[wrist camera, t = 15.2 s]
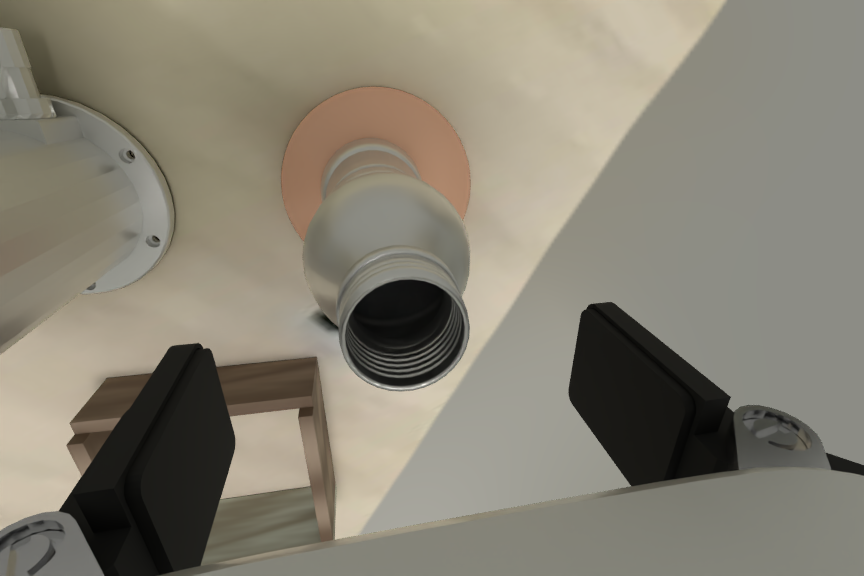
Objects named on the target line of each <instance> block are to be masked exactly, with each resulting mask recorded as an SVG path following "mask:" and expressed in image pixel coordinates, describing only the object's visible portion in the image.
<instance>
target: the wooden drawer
mask: <svg viewBox="0 0 864 576" xmlns="http://www.w3.org/2000/svg"><path fill="white" fill-rule="evenodd" d="M216 369H217V372H218V376H219V380H220V383H221V387H222V391H223V394H224V398H225V402H226V405H227V409H228V413H229V416H237V415H245V414H254V413H262V412H271V411H280V410H288V409H297V408H300V410H299V416H298V419H299V424H300V430H301V435H302V441H303V446H304V452H305V457H306V463H307V468H308V473H309V479H310V484H311V487H305V488H298V489H291V490H284V491H277V492H271V493H264V494H257V495H250V496H243V497H236V498H229V499H222V500H220V501H219V505H218V508H217V512H216V515H215V518H214V522H213V525H212V528H211V532H210V535H209V539H208V542H207V545H206V549H205V552H204V556H203V559H202V562H201V566H203V565H208V564H213V563H218V562H223V561H228V560H233V559H238V558H243V557H248V556H253V555H257V554H262V553H267V552H272V551H277V550H283V549H288V548H293V547H299V546H304V545H309V544H315V543H320V542H326V541H331V540H335V514H336V484H335V478H334V471H333V464H332V457H331V450H330V444H329V437H328V430H327V423H326V417H325V410H324V403H323V396H322V389H321V383H320V376H319V369H318V362H317V357H314V358H304V359H294V360H284V361H274V362H264V363H254V364H244V365H234V366H224V367H216ZM151 375H152V374H144V375H134V376H124V377H114V378H107V379H106V380H105V381H104V383H103V384H102V385H101V386H100V387H99V389H98V390H97V391H96V392H95V393H94V395H93V396H92V397H91V398H90V399H89V401H88V402H87V403H86V404H85V405H84V407H83V408H82V409H81V410H80V411H79V413H78V414H77V415H76V416H75V417H74V419H73V420H72V421H71V422H70V425H71V427H72V429H73V431H74V434H75V435H74V436H73V438H72V439H71V440H70V441H69V443H68V444H67V445H66V446H67V448H68V450H69V452H70V454H71V456H72V458H73V460H74V462H75V464H76V466H77V468H78V469H79V471H80V473H81V475H83V474H84V472H85V471H86V469H87V468H88V466H89V465H90V463H91V462H92V460H93V459H94V457H95V456H96V454H97V453H98V451H99V450H100V448H101V447H102V445H103V444H104V442H105V441H106V439H107V438H108V436H109V435H110V433H111V432H112V430H113V429H114V427H115V426H116V424H117V423H118V421H119V420H120V418H121V417H122V415H123V414H124V413H125V412H126V411H127V410H128V409H130V407H131V406H132V404H133V402H134V401H135V399H136V398H137V396H138V395H139V393H140V392H141V390H142V389H143V387H144V386H145V384H146V383H147V381H148V380H149V378H150V377H151Z"/></svg>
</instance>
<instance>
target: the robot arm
mask: <svg viewBox="0 0 864 576" xmlns="http://www.w3.org/2000/svg"><path fill="white" fill-rule="evenodd" d="M30 68H32V67H31V64H30V62H29V59H28V56H27V53H26V51H25V48H24V45H23V43H22V40H21V37H20V34H19V32H18V30H16V29H10V28H0V355H1V354H2V353H3V352H5V351H6V350H7V349H8V348H10V347H11V346H12V345H14V344H15V343H16V342H18V341H19V340H20V339H22V338H23V337H24V336H25V335H27V334H28V333H29V332H31V331H32V330H33V329H35V328H36V327H37V326H38V325H40V324H41V323H42V322H44V321H45V320H46V319H48V318H49V317H50V316H51V315H53V314H54V313H55V312H57V311H58V310H59V309H61V308H62V307H63V306H64V305H66V304H67V303H68V302H70V301H71V300H72V299H74V298H75V297H76V296H77V295H79V294H97V293H106V292H110V291H114V290H117V289H120V288H124V287H126V286H128V285H130V284H132V283H134V282H136V281H138V280H140V279H141V278H142V277H143V276H144V275H146V274H147V273H148V272H149V271H151V270H152V269H153V268H154V267H155V266H156V264H157V263H158V262H159V261H160V260H161V259H162V258H163V256H164V254H165V252H166V251H167V249H168V247H169V245H170V242H171V238H172V235H173V231H174V215H175V213H174V207H173V202H172V196H171V193H170V191H169V188H168V185H167V183H166V180H165V178H164V176H163V174H162V173H161V171H160V169H159V168H158V166H157V164H156V162H155V161H154V159H153V158H152V157H151V156H150V155H149V153H148V152H147V151H146V150H145V149H144V147H143V146H142V145H141V144H140V143H139V142H138V141H137V140H136V139H135V138H134V137H133V136H131V135H130V134H129V133H128V132H127V131H126V130H125V129H124V128H122V127H121V126H119V125H118V124H116V123H115V122H113V121H112V120H110V119H109V118H107V117H106V116H104V115H103V114H101V113H99V112H97V111H95V110H93V109H90V108H88V107H86V106H84V105H82V104H80V103H77V102H73V101H70V100H67V99H63V98H60V97H56V96H51V95H43V94H39V91H38V88H37V86H36V83H35V80H34V77H33V75H32V72H31V69H30ZM130 151H132V152H133V153H134V155H135V158H133V157H131V155H130ZM155 236H156V237H158V238H159V240H157V239H156V238H155ZM569 397H570V401H571V403H572V404H573V406H574V407H575V409H576V410H577V411H578V413H579V414H580V416H581V417H582V418H583V420H584V421H585V423H586V424H587V425H588V427H589V428H590V429H591V431H592V432H593V434H594V435H595V436H596V438H597V439H598V441H599V442H600V443H601V445H602V446H603V448H604V449H605V450H606V451H607V453H608V454H609V456H610V457H611V459H612V460H613V461H614V463H615V464H616V466H617V467H618V468H619V470H620V471H621V473H622V474H623V475H624V477H625V478H626V479H627V481H628V482H629V484H630V485H631V487H626V488H620V489H614V490H608V491H603V492H597V493H592V494H586V495H580V496H574V497H569V498H562V499H556V500H551V501H545V502H540V503H534V504H528V505H524V506H517V507H512V508H506V509H500V510H495V511H489V512H484V513H478V514H473V515H467V516H462V517H456V518H450V519H445V520H440V521H434V522H428V523H423V524H417V525H413V526H406V527H402V528H396V529H391V530H385V531H380V532H374V533H369V534H363V535H358V536H353V537H347V538H342V539H336V540H331V541H326V542H320V543H315V544H309V545H304V546H299V547H293V548H288V549H283V550H277V551H272V552H267V553H262V554H257V555H253V556H248V557H243V558H238V559H233V560H228V561H223V562H218V563H213V564H208V565H203V566H201V562H202V559H203V556H204V552H205V549H206V545H207V542H208V539H209V535H210V532H211V528H212V525H213V522H214V518H215V515H216V512H217V508H218V505H219V501H220V498H221V495H222V491H223V488H224V485H225V481H226V478H227V474H228V471H229V468H230V464H231V461H232V457H233V454H234V450H235V435H234V431H233V427H232V424H231V420H230V416H229V413H228V409H227V405H226V402H225V398H224V394H223V391H222V387H221V383H220V380H219V376H218V372H217V369H216V365H215V361H214V358H213V354H212V351H211V350H210V349H209V348H207V349H203V347H202V345H201V344H199V343H196V344H186V345H176V346H171V347H170V348H169V349H168V351H167V352H166V354H165V355H164V357H163V359H162V360H161V362H160V363H159V365H158V366H157V368H156V369H155V371H154V372H153V374H152V375H151V377H150V378H149V380H148V381H147V383H146V384H145V386H144V387H143V389H142V390H141V392H140V393H139V395H138V396H137V398H136V399H135V401H134V402H133V404H132V406H131V407H130V409H128V410H127V411H126V412H125V413H124V414H123V415H122V417H121V418H120V420H119V421H118V423H117V424H116V426H115V427H114V429H113V430H112V432H111V433H110V435H109V436H108V438H107V439H106V441H105V442H104V444H103V445H102V447H101V448H100V450H99V451H98V453H97V454H96V456H95V457H94V459H93V460H92V462H91V463H90V465H89V466H88V468H87V469H86V471H85V472H84V474H83V475H82V477H81V478H80V480H79V481H78V483H77V484H76V486H75V487H74V489H73V490H72V492H71V493H70V495H69V496H68V498H67V499H66V501H65V502H64V504H63V505H62V507H61V508H60V510H59V511H56V512H45V513H40V514H37V515H34V516H30V517H27V518H24V519H22V520H20V521H18V522H16V523H14V524H11V525H9V526H7V527H6V528H4V529H2V530H1V531H0V576H864V465H861V464H858V463H855V462H852V461H849V460H846V459H843V458H840V457H837V456H834V455H831V454H828V453H825V450H824V447H823V445H822V442H821V440H820V438H819V437H818V435H817V434H816V433H815V432H814V431H813V430H812V429H811V428H810V427H809V426H807V425H806V424H805V423H803V422H802V421H800V420H799V419H797V418H795V417H793V416H791V415H789V414H787V413H785V412H782V411H779V410H777V409H773V408H770V407H765V406H760V405H746V406H742V407H739V408H738V409H737V410H735V412H733V411H732V410H730V409H729V408H728V407H727V406H728V403H729V400H730V398H731V397H730V396H729V395H727V394H726V393H725V392H724V391H723V390H721V389H720V388H719V387H718V386H716V385H715V384H714V383H713V382H711V381H710V380H709V379H708V378H706V377H705V376H704V375H703V374H701V373H700V372H699V371H698V370H696V369H695V368H694V367H693V366H691V365H690V364H689V363H688V362H686V361H685V360H684V359H682V358H681V357H680V356H679V355H678V354H676V353H675V352H674V351H673V350H671V349H670V348H669V347H668V346H666V345H665V344H664V343H663V342H661V341H660V340H659V339H658V338H656V337H655V336H654V335H653V334H652V333H650V332H649V331H648V330H646V329H645V328H644V327H643V326H641V325H640V324H639V323H638V322H637V321H635V320H634V319H633V318H632V317H630V316H629V315H628V314H627V313H625V312H624V311H623V310H622V309H620V308H619V307H618V306H617V305H615V304H614V303H612V302H606V303H596V304H590V305H589V306H588V307H587V309H586V310H584V311H583V312H582V313H581V318H580V324H579V330H578V336H577V342H576V348H575V354H574V360H573V366H572V372H571V379H570V384H569Z"/></svg>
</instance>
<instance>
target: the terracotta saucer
mask: <svg viewBox="0 0 864 576" xmlns="http://www.w3.org/2000/svg"><path fill="white" fill-rule="evenodd" d="M362 138H379V139H383V140H387V141H389V142H391V143H394V144H396V145H397V146H399V147H400V148H401V149H403V150H404V151H405V152H406V153H407V154H408V155H409V156H410V157H411V158H412V160H413V161H414V163H415V164H416V166H417V168H418V170H419V173H420V175H421V178H422V181H425V182H426V183H427V184H429V185H430V186H432V187H433V188H435V189H436V190H437V191H439V192H440V193H442V194H443V195H444V196H445V197H446V198H447V199H448V200H449V202H450V203H451V204H452V205H453V206H454V207H455V209H456V210H457V212H458V214H459V215H460V217H461V219H462V220H463V219H464V216H465V213H466V210H467V206H468V202H469V197H470V170H469V164H468V160H467V156H466V153H465V150H464V148H463V145H462V143H461V141H460V139H459V137H458V135H457V134H456V132H455V130H454V129H453V127H452V126H451V125H450V124H449V122H448V121H447V120H446V119H445V117H443V116H442V115H441V114H440V113H439V112H438V111H437V110H436V109H435V108H434V107H432V106H431V105H429V104H428V103H427V102H425V101H423V100H422V99H420V98H418V97H416V96H414V95H412V94H409V93H406V92H404V91H401V90H396V89H392V88H387V87H361V88H356V89H351V90H347V91H344V92H342V93H339V94H336V95H334V96H332V97H331V98H329V99H327V100H325V101H324V102H322V103H321V104H319V105H318V106H317V107H315V108H314V109H313V110H312V111H311V112H310V113H309V114H308V115H307V116H306V117H305V118H304V119H303V120H302V121H301V123H300V124H299V126H298V127H297V128H296V130H295V131H294V133H293V135H292V137H291V139H290V141H289V143H288V146H287V149H286V152H285V155H284V159H283V164H282V172H281V187H282V196H283V200H284V205H285V208H286V211H287V214H288V216H289V219H290V221H291V223H292V225H293V227H294V228H295V230H296V232H297V233H298V234H299V236H300V237H301V239H302V240H303V241H304V239H305V236H306V233H307V230H308V226H309V224H310V222H311V220H312V219H313V217H314V215H315V213H316V211H317V210H318V208H319V206H320V205H321V203H322V200H321V190H320V188H321V178H322V175H323V172H324V169H325V167H326V165H327V163H328V161H329V159H330V158H331V157H332V156H333V155H334V153H335V152H336V151H337V150H339V149H340V148H341V147H343V146H344V145H345V144H347V143H350V142H352V141H354V140H358V139H362Z"/></svg>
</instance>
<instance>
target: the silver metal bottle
mask: <svg viewBox="0 0 864 576" xmlns="http://www.w3.org/2000/svg"><path fill="white" fill-rule="evenodd" d="M320 190H321V200H322V203H321V205H320V206H319V208H318V210H317V211H316V213H315V215H314V217H313V219H312V220H311V222H310V224H309V226H308V230H307V233H306V236H305V239H304V246H303V257H302V258H303V266H304V274H305V277H306V280H307V283H308V286H309V289H310V291H311V293H312V294H313V296H314V298H315V300H316V301H317V303H318V305H319V306H320V308H321V310H322V311H323V312H324V313H325V315H326V316H327V317H328V318H329V319H330V320H331V321H332V322H333V323H334V324H336V325H337V326H338V327H339V342H340V346H341V349H342V352H343V355H344V358H345V360H346V362H347V363H348V365H349V367H350V368H351V369H352V370H353V371H354V373H355V374H356V375H357V376H358V377H360V378H361V379H363V380H364V381H365V382H367V383H369V384H371V385H373V386H375V387H377V388H381V389H385V390H389V391H411V390H416V389H420V388H424V387H426V386H428V385H431V384H433V383H435V382H437V381H438V380H440V379H441V378H443V377H444V376H446V375H447V374H448V373H449V372H450V371H451V370H452V369H453V368H454V367H455V366H456V365H457V363H458V362H459V361H460V359H461V358H462V356H463V354H464V352H465V350H466V347H467V343H468V339H469V329H470V326H469V319H468V313H467V309H466V307H465V304H464V302H463V300H462V295H463V293H464V291H465V288H466V284H467V280H468V276H469V265H470V247H469V240H468V234H467V232H466V229H465V226H464V223H463V220H462V219H461V217H460V215H459V214H458V212H457V210H456V209H455V207H454V206H453V205H452V204H451V203H450V202H449V200H448V199H447V198H446V197H445V196H444V195H443V194H442V193H440V192H439V191H437V190H436V189H435V188H433V187H432V186H430V185H429V184H427V183H426V182H425V181H422V178H421V175H420V173H419V170H418V168H417V166H416V164H415V163H414V161H413V160H412V158H411V157H410V156H409V155H408V154H407V153H406V152H405V151H404V150H403V149H401V148H400V147H399V146H397V145H396V144H394V143H391V142H389V141H387V140H383V139H379V138H362V139H358V140H354V141H352V142H350V143H347V144H345V145H344V146H343V147H341V148H340V149H339V150H337V151H336V152H335V153H334V155H333V156H332V157H331V158H330V159H329V161H328V163H327V165H326V167H325V169H324V172H323V175H322V178H321V188H320Z"/></svg>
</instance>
